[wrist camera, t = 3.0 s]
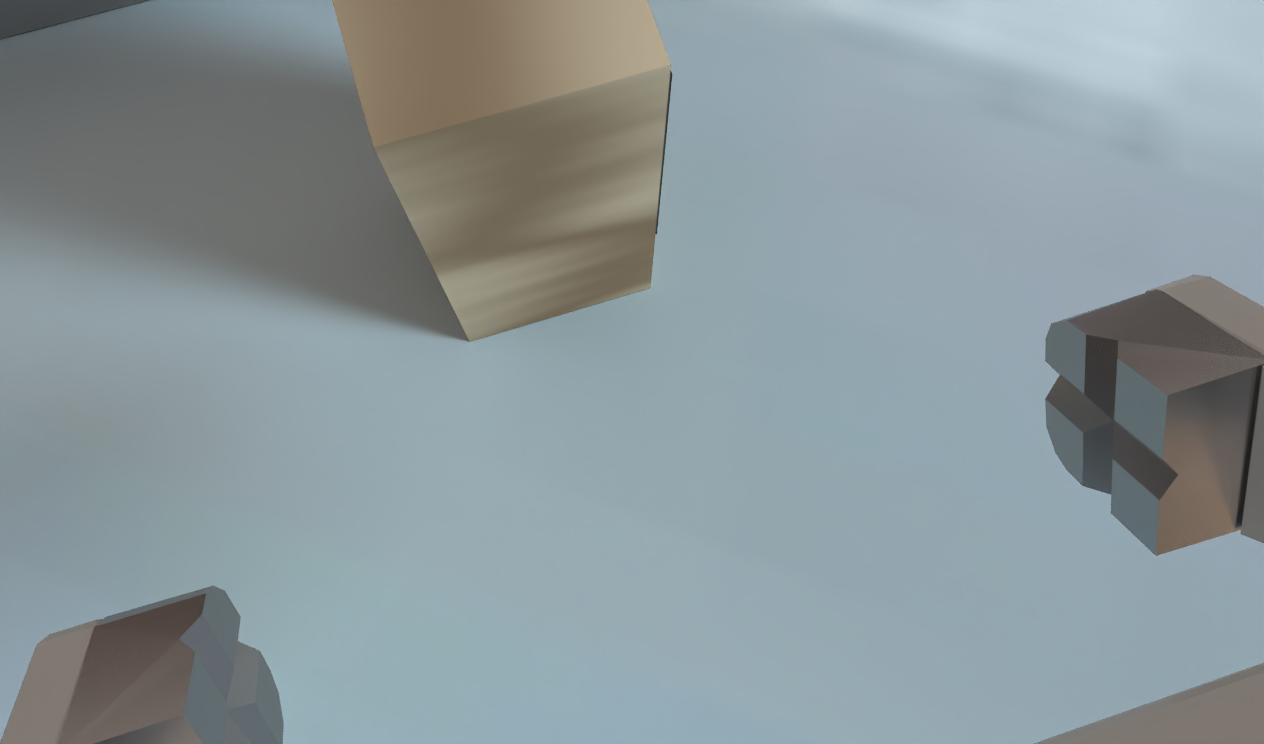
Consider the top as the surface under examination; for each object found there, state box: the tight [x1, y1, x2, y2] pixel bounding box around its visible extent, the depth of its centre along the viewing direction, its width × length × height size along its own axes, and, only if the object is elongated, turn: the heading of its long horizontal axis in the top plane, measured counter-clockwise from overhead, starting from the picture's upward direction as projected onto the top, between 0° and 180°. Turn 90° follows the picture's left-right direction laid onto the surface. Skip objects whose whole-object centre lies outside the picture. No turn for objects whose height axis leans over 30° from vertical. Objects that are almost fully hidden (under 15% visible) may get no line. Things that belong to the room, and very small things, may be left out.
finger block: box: [332, 0, 672, 342], centre depth 18 cm, size 4×4×9 cm
